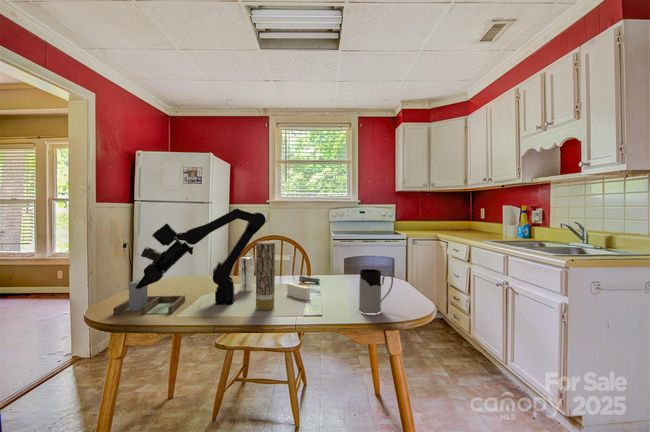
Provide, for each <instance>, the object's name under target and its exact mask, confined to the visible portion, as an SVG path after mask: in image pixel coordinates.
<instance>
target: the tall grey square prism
mask: <svg viewBox="0 0 650 432" xmlns="http://www.w3.org/2000/svg"><path fill="white" fill-rule="evenodd" d="M140 281H141V279H140V280H135V279H134V280H133V281H131V282H129V283H128V299H129V308H128V312H136V311H138V310H141V307H143V306H144V305H146V304H147V296H148V285H147V286H145V287H142V288H140V289H137V288H136V286H137V285H138V283H139V282H140Z"/></svg>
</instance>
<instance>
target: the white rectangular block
mask: <svg viewBox="0 0 650 432" xmlns="http://www.w3.org/2000/svg"><path fill="white" fill-rule="evenodd" d="M286 286H287V289H286V293H287V296H289V297H293V296H294V297H293V298H295V299H298V298H299V299H300V300H303V299H305V301H308V300H307V299H309V298H310V299H311V286H304V285H300V284H298V283H292V282H290V283H287V285H286ZM310 299H309V300H310Z"/></svg>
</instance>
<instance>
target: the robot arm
mask: <svg viewBox="0 0 650 432" xmlns="http://www.w3.org/2000/svg"><path fill="white" fill-rule="evenodd" d="M235 220H242V221H244V222H246V223H247V224H246V226H245V229H244V231H243V232H242V233H241V235H240V237H239V238H238V240H237V241H236V243H235V244H234V246H233V247H232V249H231V250H230V252H229V254H228V255H227V256H226V258H225V259H224V260H223V261H222V262H221V261H218V262H217V264H216V266H214V268H213V269H212V281H213V283H214V284H216V285H217V286H216V291H214V292H215V293H214V302H215V305H233V304H234V302H235V301H236V298H235V283H234V279H233V278H232V277H231V273H232V270H233V267H234V265H235V264H236V262H237V261H238V259H240V257H241V255H242V253H243V252H244V250H245V248H246V247H247V245H248V244H249V243H250V241H251V239H252V237H253V236H254V235H255V234H256V233H258V232H259V231H260V229H261V228H262V227H263V226H264V225H265V223H266V216H265V214H263V213H262V212H254V213H252V212H249V211H245V210H242V209H239V208H234V209H232V210H230V211H229V212H227V213H225V214H223V215H221V216H220V217H217V218H215V219H214V220H211V221H210V222H208V223H205V224H202V225H199V226H196V227H192V228H190V229H188V230H187V231H185V232H176V231H175V230H174V229H173V228H172V227H171V225H170V224H169V223H165V224H164V225H163V226H161V227H160V228H158V229H157V230H156V231H154V233H153V234H152V235H151V236H152V238H153V239H155V240H156V241H157V243H159V244H160V245H161V246H163V247H164V246H167V247H168V248H167V249H165V250H163V252H161V251H158V250H156V249H155V248H151V247H148V246H146V247H144V248H143V250H142V253H141V254H140V257H142V258H146V259H148V260H151V263H150V264H148V265H147V266H146V267H145V268H144V269H143V276H142V277H141V279H140V280H141V281H140V282H139V283H138V285H137V286H136V288H137V289H140V288H142V287H145V286H147V287H148V286H149V285H152V284H154V283H157V282H159V281H160V280H161V279H162V278H163V277H164V274H166V273H167V272H168V271H169V270H170V269H171V268H172V267H173V265H176V263H178V261H179V260H180V259H181V258H183V256H185V255H186V254H187V253H189V255H193V254H194V252H193V251H194V246H192V245H197V244H198V243H199V242H200V241H202V240H203V239H204V238H206V237H207V236H208V235H210V234H211V233H212V232H215V231H216V230H218V229H221V228H222V227H224V226H226V225H228V224H230V223H231V222H233V221H235ZM174 241H175V242H174ZM182 241H183V242H182ZM171 244H172V245H171ZM190 245H191V246H190Z"/></svg>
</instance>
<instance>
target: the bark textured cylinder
mask: <svg viewBox="0 0 650 432" xmlns="http://www.w3.org/2000/svg"><path fill="white" fill-rule="evenodd" d="M255 245H256V249H255V250H256V252H255V257H256V258H255V262H256V263H255V308H256V309H257V310H258V311H263V312H264V311H271V310H273V309H274V308H275V281H276V280H275V279H276V278H275V277H276V275H275V269H276V268H275V267H276V264H275V262H276V256H275V255H276V242H275V241H273V240H258V241H256V243H255Z"/></svg>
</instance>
